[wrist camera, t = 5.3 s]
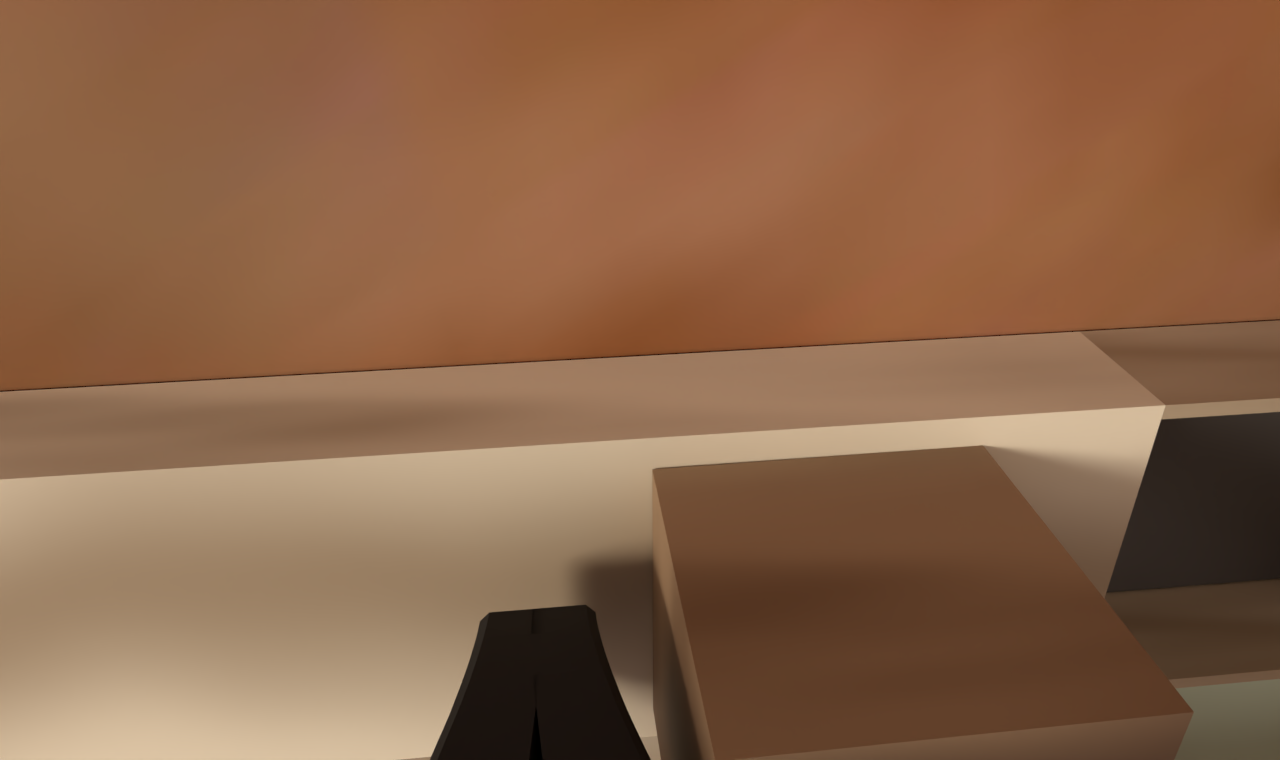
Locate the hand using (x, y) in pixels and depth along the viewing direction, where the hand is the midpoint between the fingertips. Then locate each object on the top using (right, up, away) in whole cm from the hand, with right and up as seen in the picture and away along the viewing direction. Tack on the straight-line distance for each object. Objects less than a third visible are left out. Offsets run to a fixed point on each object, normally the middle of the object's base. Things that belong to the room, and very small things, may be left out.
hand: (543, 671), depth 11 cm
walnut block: (+3, +1, +1) cm, 4 cm away
